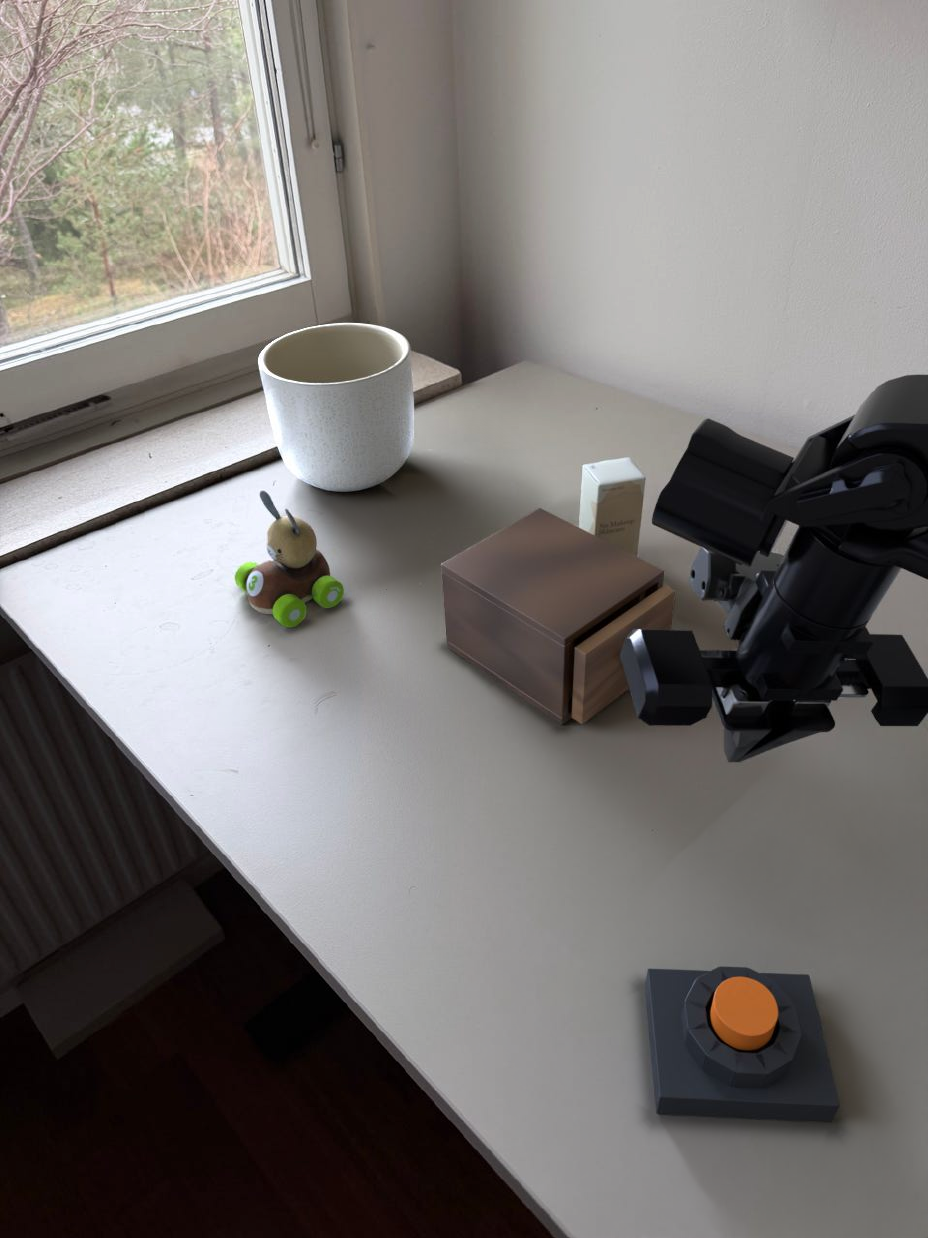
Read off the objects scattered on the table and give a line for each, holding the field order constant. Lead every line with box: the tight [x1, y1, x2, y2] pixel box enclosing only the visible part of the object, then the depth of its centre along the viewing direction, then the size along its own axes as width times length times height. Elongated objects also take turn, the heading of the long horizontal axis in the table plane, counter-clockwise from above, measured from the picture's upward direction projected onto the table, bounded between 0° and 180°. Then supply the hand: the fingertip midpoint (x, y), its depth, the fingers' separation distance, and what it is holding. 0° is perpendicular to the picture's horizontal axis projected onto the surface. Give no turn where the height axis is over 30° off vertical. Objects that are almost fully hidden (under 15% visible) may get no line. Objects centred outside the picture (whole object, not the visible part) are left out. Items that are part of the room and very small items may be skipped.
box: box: [578, 456, 647, 557], centre depth 94 cm, size 5×4×11 cm
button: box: [710, 977, 778, 1051], centre depth 54 cm, size 4×4×2 cm
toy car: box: [234, 490, 345, 628], centre depth 91 cm, size 9×9×11 cm
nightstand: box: [440, 507, 665, 726], centre depth 84 cm, size 15×13×10 cm
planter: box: [257, 322, 415, 493], centre depth 109 cm, size 17×17×15 cm
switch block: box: [644, 965, 841, 1124], centre depth 56 cm, size 10×8×4 cm
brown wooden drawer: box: [569, 584, 676, 725], centre depth 82 cm, size 15×11×8 cm
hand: (731, 756), depth 64 cm, fingers closed
